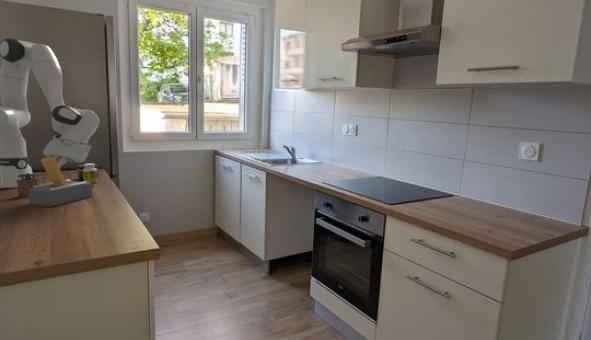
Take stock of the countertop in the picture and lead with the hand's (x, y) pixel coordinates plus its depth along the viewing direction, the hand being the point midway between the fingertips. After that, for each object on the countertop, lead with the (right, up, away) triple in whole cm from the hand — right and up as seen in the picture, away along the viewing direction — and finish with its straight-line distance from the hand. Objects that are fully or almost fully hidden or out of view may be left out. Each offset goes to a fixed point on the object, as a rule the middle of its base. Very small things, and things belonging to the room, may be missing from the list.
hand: (55, 167), depth 162 cm
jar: (-13, -6, +50) cm, 52 cm away
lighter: (-19, -13, +11) cm, 25 cm away
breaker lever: (0, -8, +3) cm, 8 cm away
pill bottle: (-3, -9, +33) cm, 35 cm away
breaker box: (0, -14, +4) cm, 15 cm away
